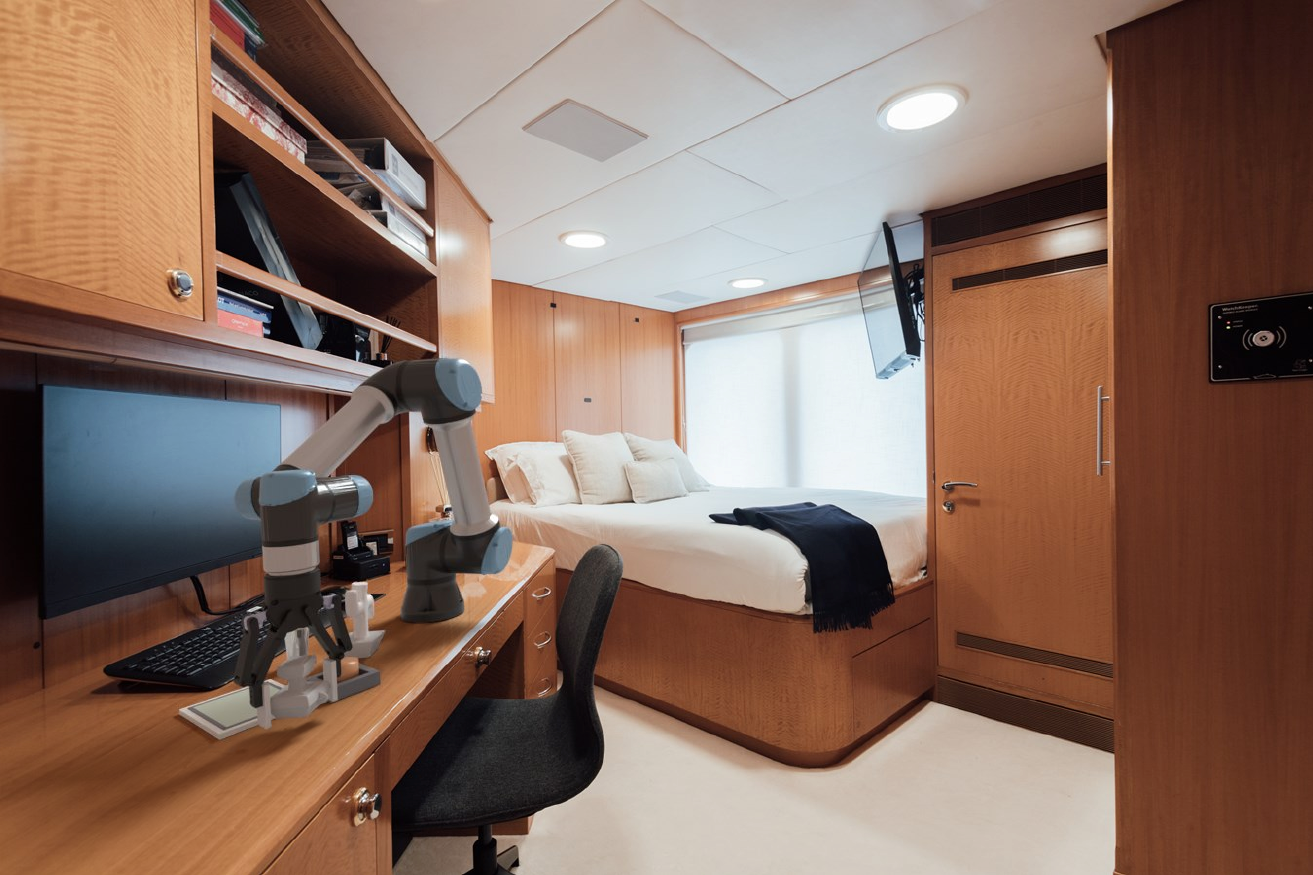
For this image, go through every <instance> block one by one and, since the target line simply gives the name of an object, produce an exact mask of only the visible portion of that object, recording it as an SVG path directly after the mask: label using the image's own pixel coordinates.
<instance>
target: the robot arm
mask: <svg viewBox="0 0 1313 875" xmlns="http://www.w3.org/2000/svg"><path fill="white" fill-rule="evenodd" d="M482 394H483V387H482V382H481V379H480V377H479V374H478V372H477V370H476V369H475V368H474V366H473V365H472V364H470V363H469V362H468V361H467V360H466V359H463V358H459V357H458V358H457V357H455V358H453V357H452V358H450V357H438V358H437V357H436V358H426V359H416V360H415V359H413V360H409V359H407V360H402V361H397V362H395V363H394V362H393V363H391V364H389V365H387V366H385V367H384V368H382V369H380V370H378V371H376V372H375V373H373V374H372V375H371V376H370V377H368V378H367V379H365V380H364V381H363V382H361V383H360V385H358V386H357V387H356V388H355V389H353V390H352V393H351V395H350V400H349V401H348V402H347V403H346V404H344V405H343V406H342V407H341V408H340V409H339V410H338V411H337V412H335V414H333V415H332V416H331V417H330V418H329V419H328V420H326V422H325V423H323V424H322V425H321V427H319V428H318V429H317V430H315V432H314V433H312V434H311V435H310V436H309V437H308V438H307V439H306V440H305V441H303V443H302V444H300V445H299V446H298V447H297V448H296V449H295V450H294V451H293V452H291V453H290V454H289V455H288V456H287V457H286V458H285V459H283V461H282V462H281V463H280V464H278V465H277V466H276V467H275V468H273V470H271V471H268V472H266V473H264V474H262V475H261V476H256V477H253V478H249V479H246V480H244V481H242V482H241V483H240V484H239V485H238V486H237V488H236V490H235V492H234V497H233V502H234V507H235V509H236V511H237V512H238V514H239V515H240V516H241V517H243V518H244V519H247V520H252V521H260V525H261V526H260V528H261V530H260V531H261V549H262V565H263V566H262V567H263V568H262V569H263V571H264V572H266V574H265V575H264V576H263V588H264V590H263V592H264V600H265V604H264V607H263V609H262V611H260V612H258V613H255V614H253V615H252V614H251V615H249V614H245V615H243V616H242V617H241V625H242V626H241V627H242V631H243V632H242V637H241V642H240V646H239V651H238V655H237V660H236V666H235V670H234V674H233V680H232V681H233V683H234V684H235V685H237V686H239V687H241V688H245V687H248V686H249V698H250V705H251V706H252V707H254V708H257V722H258V725H257V726H260V727H262V729H265V730H267V729H270V728H272V720H271V707H270V687H269V684H268V683H266V682H264V681H266V677H267V675H268V673H269V671H270V669H271V666H272V665H273V662H274V659H275V657H276V655H277V652H278V650H279V648H280V645H281V644H282V641H284V640H285V636H286V634H287V633H289V632H292V631H294V630H296V629H298V628H306V627H308V628H309V632H311V634H312V635H313V637H314V638H315V639H316V641H317V642H318V644H319V645H320V647H321V648H322V649H323V651H324V652H325V653H326V655H327V656H328V657H324V658H322V672H323V678H324V681H327V682H328V683H329V685H330V689H329V690H328V692H327V695H328V700H330V701H332V702H333V703H335V702H334V701H336V702H337V700H338V694H337V678H338V677H340V676H341V660H342V659H343V658H344V657H345V654H344V653H345V652H347V651H351V650H352V648H353V646H352V642H351V639H350V636H349V633H350V632H349V630H348V627H347V624H346V621H345V618H344V617H345V616H344V614H343V610H342V599H343V598H342V596H341V594H335V593H331V592H330V593H328V594H327V595H322V594H321V588H322V583H321V582H322V580H321V569H320V568H319V567H318V565H319V564H320V563H321V562H320V560H321V559H320V541H319V538H320V537H319V526H322V525H326V524H329V523H330V524H331V523H334V522H340V521H344V520H353V519H354V518H356V517H359V516H362V515H364V514H366V513H367V512H368V511H369V510H370V508H371V507H372V506H373V502H374V490H373V487H372V485H371V484H370V482H369V480H367V479H366V478H364V477H363V476H361V475H358V474H357V475H356V474H351V475H347V474H344V475H343V474H342V475H340V476H330V475H332V473H333V472H334V471H335V470H337V468H338V467H339V466H340V465H342V463H343V462H344V461H345V460H346V459H347V458H348V457H349V456H350V455H351V454H352V453H353V452H354V451H355V450H356V449H357V448H358V447H359V446H360V445H361V444H362V443H363V441H365V439H367V438H368V436H370V434H372V432H374V431H375V429H377V428H378V426H380V425H382V424H386V423H388V422H390V421H391V420H392V419H393V418H394V417H395V416H397V415H399V414H404V413H411V412H412V413H415V412H419V413H421V416H422V421H423V424H425V425H426V426H428V427H429V428H431V429H432V432H433V436H434V441H435V446H436V449H437V453H438V457H439V461H440V465H441V470H442V473H443V474H442V475H443V478H444V483H445V486H446V491H447V495H448V499H449V503H450V507H451V508H450V509H451V512H452V515H453V519H444V520H437V521H430V522H427V523H426V522H425V523H421V524H417V525H414V526H411V527H408V529H407V530H406V533H405V544H404V547H405V559H406V561H405V564H406V590H405V593H404V597H403V600H402V604H401V606H400V619H401V620H402V621H403V622H407V623H415V624H416V623H419V624H424V623H433V622H439V621H445V620H448V619H452V618H455V617H458V616H459V615H461V614H462V613H464V612H465V600H464V598H463V595H462V592H461V590H460V587H459V585H458V582H457V574H465V575H482V576H486V575H497V574H500V573H501V572H503V571H504V570H505V568H506V567H507V565H508V564H509V561H510V558H511V556H512V552H513V546H514V545H513V544H514V539H513V532H512V530H511V529H510V528H509V527H507V526H506V525H502V526H501V522H500V519H499V516H498V514H496V513H494V512H493V511H491V507H490V503H489V498H488V494H487V488H486V483H485V479H484V475H483V470H482V464H481V460H480V456H479V452H478V446H477V442H476V437H475V434H474V432H475V431H474V429H473V423H472V421H473V418H474V417H475V416H476V415H477V410H476V409H477V408H478V407H479V406H480V404H481V402H482V398H483V397H482ZM329 476H330V477H329ZM322 607H324V609H326V614H327V617H328V620H329V623H330V626H331V630H332V633H333V636H334V639H335V641H334V639H333V638H332V636H331V634H330V633H329V632H328V630H327V629H326V628H325V626H324V623H323V622H322V620H321V618H320V616H318V614H319V611H320V610H321V608H322ZM265 620H266V621H267V622H268V623H270V624H269V626H268V628H267V631H266V634H265V638H264V642H263V643H262V646H261V648H260V650H259V652H258V654H257V657H256V653H257V648H258V644H259V639H260V629H261V628H263V624H264V621H265ZM336 643H337V645H336ZM255 658H256V659H255ZM338 701H339V700H338Z"/></svg>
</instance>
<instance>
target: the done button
mask: <svg viewBox="0 0 1313 875" xmlns="http://www.w3.org/2000/svg"><path fill="white" fill-rule="evenodd" d="M358 663H359V658H356V657H345V656H344V658H343V659H342V660H341V676H340V677H338V678H337V684H338V683H341V682H343V681H346V680H349V679H352V678H354V677H357V676H359V666H358Z"/></svg>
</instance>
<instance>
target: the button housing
mask: <svg viewBox="0 0 1313 875" xmlns="http://www.w3.org/2000/svg"><path fill="white" fill-rule="evenodd" d="M358 666H359V676H357V677H354V678H352V679H349V680H346V681H343V682H341V683H338V684H337V694H338V700H337V701H340V700H344V699H346V698H348V697H351V696H353V695H356V694H358V693H361V692H363V691H365V690H369V689H371V688H374V687H375V686H379V685H381V684H382V683H381V682H382V681H381V670H379V669H375V668H374V667H370V666H368V665H365V664H362V663H359V662H358ZM306 680H307V682H308V681H324V678H323V671H321V672H318V673H315V674H313V675H310V676H306ZM337 701H334V702H332V701H330V700H327V701H326V703H327V702H328V703H330V704H333V703H335V702H337Z"/></svg>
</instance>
